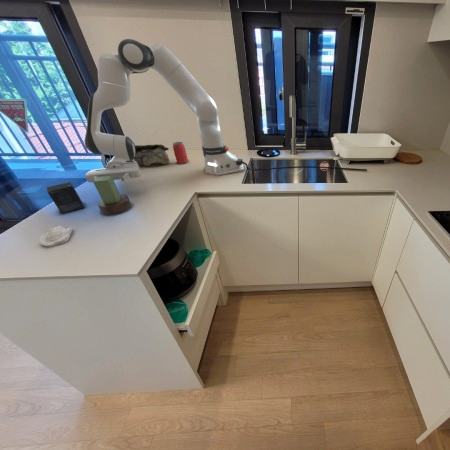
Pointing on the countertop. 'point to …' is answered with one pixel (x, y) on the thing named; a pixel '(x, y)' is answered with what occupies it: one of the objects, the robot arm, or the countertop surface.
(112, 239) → the countertop surface
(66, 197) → the box
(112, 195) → the block
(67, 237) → the white flat lumpy piece
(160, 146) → the hollow geode rock
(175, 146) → the beer can
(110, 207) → the cylinder
